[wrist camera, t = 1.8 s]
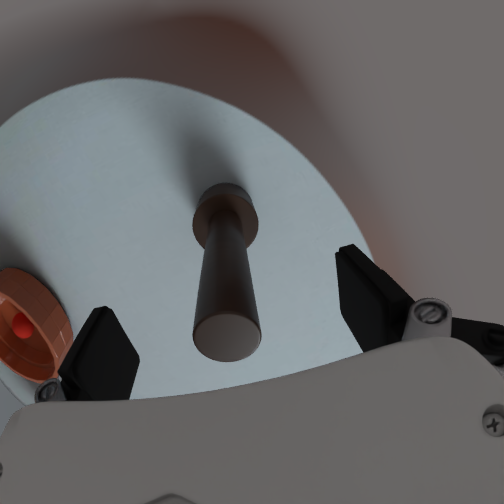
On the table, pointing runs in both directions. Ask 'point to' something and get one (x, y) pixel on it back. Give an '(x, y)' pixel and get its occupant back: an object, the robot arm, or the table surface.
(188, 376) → the table surface
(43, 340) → the bowl
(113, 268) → the table surface
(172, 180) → the table surface
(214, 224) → the brown wooden peg
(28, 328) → the berry
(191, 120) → the table surface
